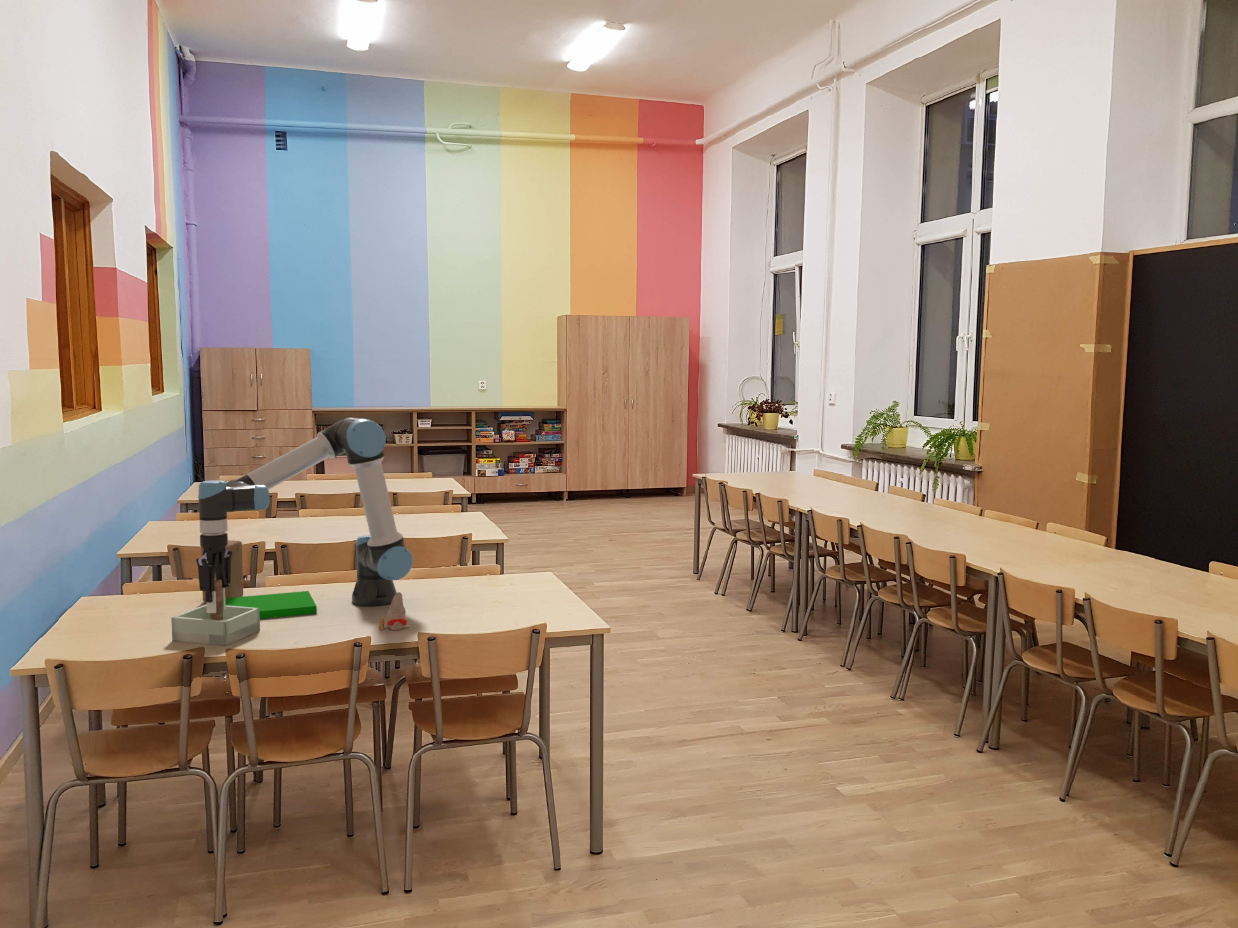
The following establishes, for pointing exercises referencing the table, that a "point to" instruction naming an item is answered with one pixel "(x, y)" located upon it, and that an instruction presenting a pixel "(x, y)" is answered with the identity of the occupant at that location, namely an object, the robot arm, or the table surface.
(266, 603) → the book
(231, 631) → the crate
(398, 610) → the figurine
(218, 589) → the peg
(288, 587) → the table surface
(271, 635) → the table surface
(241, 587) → the wooden block
